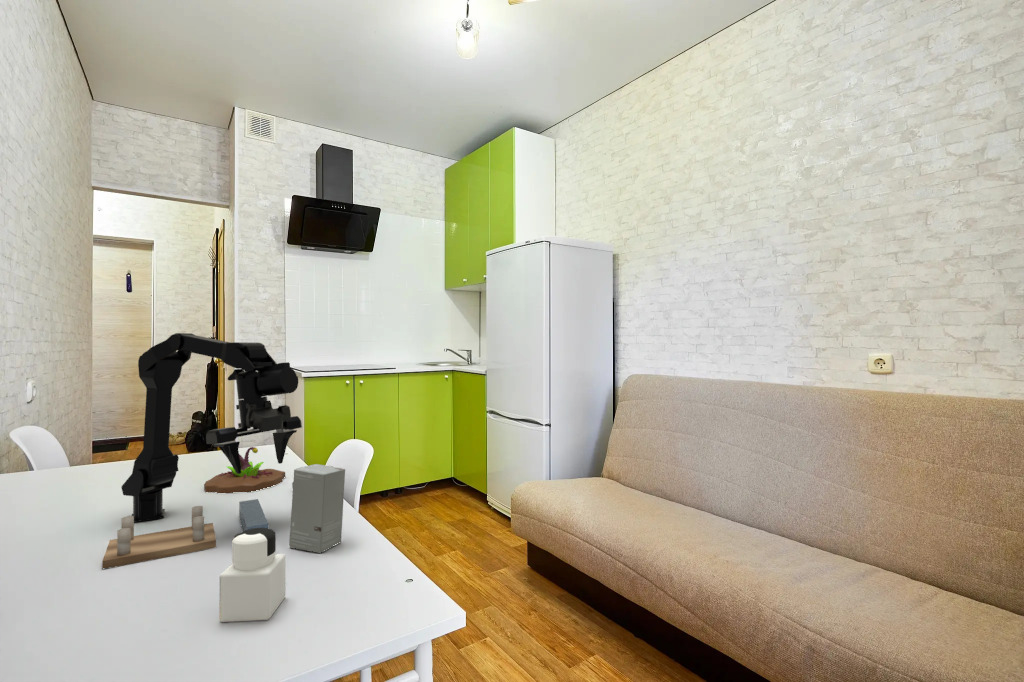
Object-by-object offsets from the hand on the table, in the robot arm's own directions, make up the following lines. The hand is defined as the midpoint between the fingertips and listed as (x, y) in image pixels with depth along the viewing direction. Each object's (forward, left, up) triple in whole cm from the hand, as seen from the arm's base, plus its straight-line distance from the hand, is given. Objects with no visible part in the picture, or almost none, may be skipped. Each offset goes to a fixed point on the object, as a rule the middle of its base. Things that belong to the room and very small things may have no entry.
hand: (260, 468), depth 112 cm
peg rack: (0, -18, -14) cm, 22 cm away
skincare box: (+16, +9, -14) cm, 23 cm away
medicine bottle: (+37, -5, -14) cm, 40 cm away
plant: (-44, +2, -14) cm, 47 cm away
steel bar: (-2, -1, -14) cm, 14 cm away
